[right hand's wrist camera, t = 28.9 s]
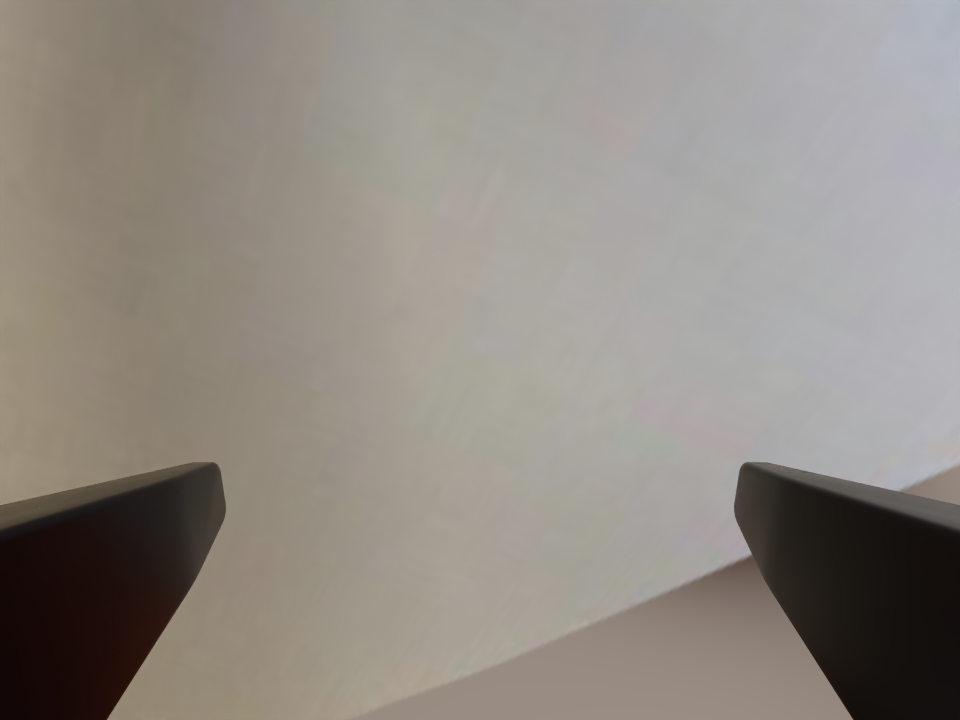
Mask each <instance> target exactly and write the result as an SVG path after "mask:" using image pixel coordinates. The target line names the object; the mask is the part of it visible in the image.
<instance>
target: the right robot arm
mask: <svg viewBox="0 0 960 720" xmlns="http://www.w3.org/2000/svg"><path fill="white" fill-rule="evenodd" d="M225 512H226V503H225V497H224V490H223V484H222V477H221V471H220V468H219V466H218V465H217V464H216V463H214V462H194V463H189V464H184V465H180V466H175V467H171V468H166V469H162V470H157V471H153V472H148V473H144V474H139V475H135V476H130V477H126V478H121V479H117V480H112V481H108V482H103V483H99V484H94V485H90V486H85V487H81V488H76V489H72V490H67V491H63V492H59V493H54V494H50V495H45V496H41V497H36V498H32V499H27V500H23V501H18V502H14V503H9V504H5V505H0V720H107V718H108V717H109V715H110V714H111V712H112V711H113V709H114V707H115V706H116V704H117V703H118V701H119V700H120V698H121V696H122V695H123V693H124V692H125V690H126V689H127V687H128V686H129V684H130V682H131V681H132V679H133V678H134V676H135V675H136V673H137V671H138V670H139V668H140V667H141V665H142V664H143V662H144V660H145V659H146V657H147V656H148V654H149V653H150V651H151V649H152V648H153V646H154V645H155V643H156V642H157V640H158V638H159V637H160V635H161V634H162V632H163V631H164V629H165V628H166V626H167V624H168V623H169V621H170V620H171V618H172V617H173V615H174V613H175V612H176V610H177V609H178V607H179V606H180V604H181V602H182V601H183V599H184V598H185V596H186V595H187V593H188V591H189V590H190V588H191V586H192V585H193V583H194V581H195V580H196V578H197V576H198V574H199V572H200V570H201V568H202V566H203V563H204V561H205V559H206V557H207V555H208V553H209V551H210V549H211V546H212V544H213V542H214V540H215V538H216V536H217V534H218V532H219V529H220V527H221V525H222V523H223V521H224V517H225ZM734 512H735V517H736V521H737V523H738V525H739V527H740V529H741V532H742V534H743V536H744V538H745V540H746V542H747V544H748V546H749V549H750V551H751V553H752V555H753V557H754V559H755V561H756V563H757V565H758V568H759V570H760V572H761V574H762V576H763V578H764V580H765V581H766V583H767V585H768V586H769V588H770V590H771V591H772V593H773V595H774V596H775V598H776V599H777V601H778V602H779V604H780V605H781V607H782V609H783V610H784V612H785V613H786V615H787V616H788V618H789V620H790V621H791V623H792V624H793V626H794V627H795V629H796V631H797V632H798V634H799V635H800V637H801V638H802V640H803V641H804V643H805V645H806V646H807V648H808V649H809V651H810V653H811V654H812V656H813V657H814V659H815V660H816V662H817V663H818V665H819V667H820V668H821V670H822V671H823V673H824V674H825V676H826V678H827V679H828V681H829V682H830V684H831V685H832V687H833V689H834V690H835V692H836V693H837V695H838V696H839V698H840V699H841V701H842V703H843V704H844V706H845V707H846V709H847V711H848V712H849V714H850V715H851V717H852V718H853V720H960V505H955V504H951V503H947V502H942V501H938V500H933V499H929V498H924V497H920V496H915V495H911V494H906V493H902V492H897V491H893V490H888V489H884V488H879V487H875V486H870V485H866V484H861V483H857V482H852V481H848V480H843V479H839V478H834V477H830V476H825V475H821V474H816V473H812V472H807V471H803V470H798V469H794V468H789V467H785V466H780V465H776V464H771V463H766V462H746V463H744V464H743V465H742V466H741V468H740V471H739V477H738V484H737V490H736V497H735V503H734Z"/></svg>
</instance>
